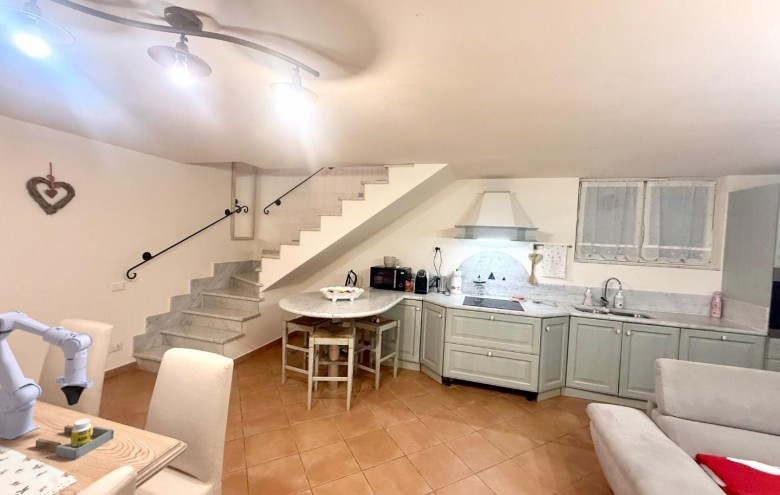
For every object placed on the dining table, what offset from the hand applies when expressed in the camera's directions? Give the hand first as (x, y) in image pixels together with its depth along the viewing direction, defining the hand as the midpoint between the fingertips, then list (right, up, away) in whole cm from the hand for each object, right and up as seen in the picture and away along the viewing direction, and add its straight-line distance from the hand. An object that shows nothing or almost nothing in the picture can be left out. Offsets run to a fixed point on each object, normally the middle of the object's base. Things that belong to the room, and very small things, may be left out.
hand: (73, 404), depth 113 cm
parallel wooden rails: (+2, -10, -6) cm, 12 cm away
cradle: (+12, -11, -7) cm, 18 cm away
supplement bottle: (+10, -11, -7) cm, 16 cm away
